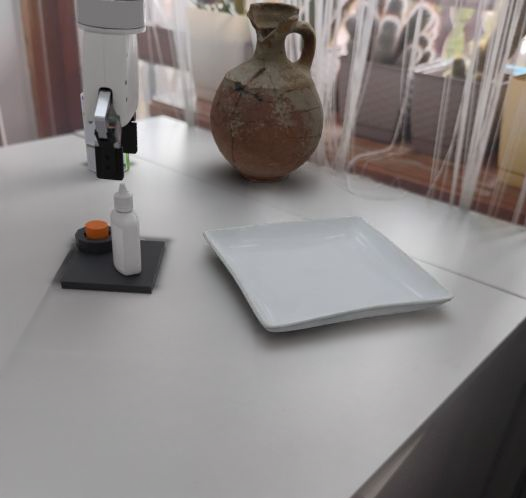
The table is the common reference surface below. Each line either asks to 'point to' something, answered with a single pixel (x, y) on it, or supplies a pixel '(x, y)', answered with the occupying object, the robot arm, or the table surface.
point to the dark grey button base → (110, 266)
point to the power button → (96, 229)
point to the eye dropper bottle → (125, 233)
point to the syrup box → (90, 143)
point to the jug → (269, 100)
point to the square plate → (322, 272)
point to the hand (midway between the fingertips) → (118, 165)
